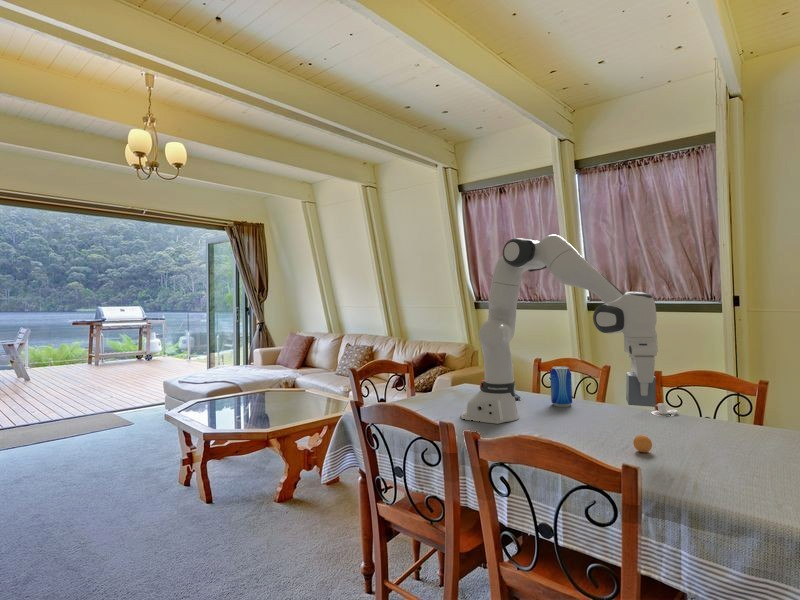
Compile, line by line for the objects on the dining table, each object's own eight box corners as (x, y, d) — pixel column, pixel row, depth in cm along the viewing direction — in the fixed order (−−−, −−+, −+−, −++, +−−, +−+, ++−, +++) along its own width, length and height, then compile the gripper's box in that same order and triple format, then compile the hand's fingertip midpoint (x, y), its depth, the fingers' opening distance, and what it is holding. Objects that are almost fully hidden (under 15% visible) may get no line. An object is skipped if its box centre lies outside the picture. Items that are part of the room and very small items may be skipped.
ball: (655, 441, 134) (650, 457, 135) (652, 436, 139) (647, 451, 139) (637, 435, 136) (632, 450, 136) (635, 430, 140) (630, 445, 141)
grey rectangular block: (628, 404, 135) (628, 375, 135) (626, 399, 142) (626, 371, 142) (655, 406, 133) (655, 377, 133) (651, 401, 139) (651, 373, 139)
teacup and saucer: (680, 414, 175) (679, 404, 175) (673, 419, 170) (673, 408, 170) (654, 411, 181) (654, 400, 181) (648, 415, 176) (647, 404, 176)
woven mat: (515, 396, 217) (515, 391, 217) (521, 401, 206) (521, 397, 206) (493, 397, 216) (493, 393, 216) (498, 402, 206) (498, 398, 206)
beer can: (573, 407, 190) (572, 369, 190) (552, 407, 192) (551, 369, 191) (570, 402, 198) (569, 365, 198) (550, 402, 200) (548, 365, 200)
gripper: (625, 341, 148) (626, 384, 148) (632, 350, 129) (634, 399, 129) (647, 341, 145) (648, 385, 146) (658, 350, 126) (659, 400, 127)
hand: (642, 392), depth 137 cm, fingers closed on grey rectangular block, 7 cm apart
